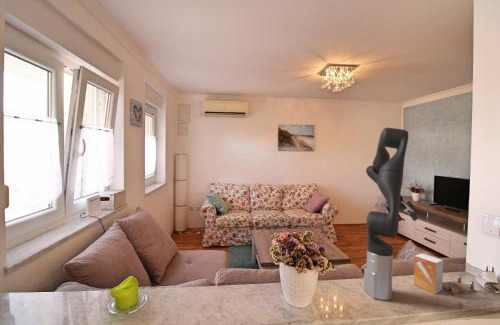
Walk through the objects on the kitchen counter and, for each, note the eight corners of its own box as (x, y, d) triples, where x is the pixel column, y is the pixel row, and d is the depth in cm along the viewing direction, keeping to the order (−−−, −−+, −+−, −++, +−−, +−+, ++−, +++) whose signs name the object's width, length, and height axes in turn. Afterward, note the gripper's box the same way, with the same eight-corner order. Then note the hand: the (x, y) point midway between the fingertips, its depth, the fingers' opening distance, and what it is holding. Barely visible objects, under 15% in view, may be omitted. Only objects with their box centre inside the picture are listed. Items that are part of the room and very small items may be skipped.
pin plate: (451, 294, 94) (451, 284, 94) (434, 284, 101) (435, 276, 101) (475, 291, 96) (476, 283, 96) (457, 282, 103) (458, 274, 103)
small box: (413, 284, 101) (414, 255, 101) (421, 281, 104) (421, 252, 104) (435, 294, 94) (436, 262, 94) (442, 290, 97) (443, 260, 96)
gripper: (382, 189, 119) (400, 216, 108) (406, 189, 121) (426, 215, 110) (375, 197, 124) (391, 224, 113) (398, 197, 127) (416, 223, 115)
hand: (408, 220), depth 112 cm, fingers open, 8 cm apart
